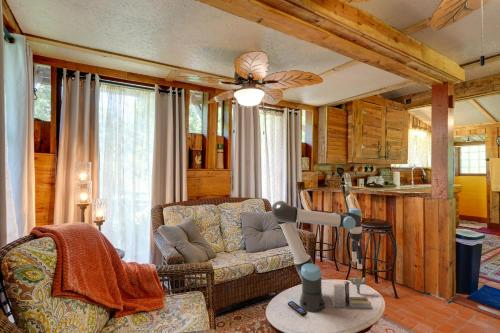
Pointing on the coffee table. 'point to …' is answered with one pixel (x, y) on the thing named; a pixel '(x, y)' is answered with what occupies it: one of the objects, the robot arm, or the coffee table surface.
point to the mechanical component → (357, 282)
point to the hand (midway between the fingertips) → (357, 265)
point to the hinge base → (350, 305)
